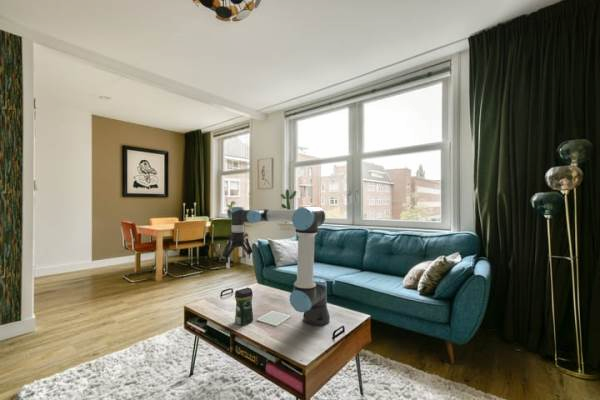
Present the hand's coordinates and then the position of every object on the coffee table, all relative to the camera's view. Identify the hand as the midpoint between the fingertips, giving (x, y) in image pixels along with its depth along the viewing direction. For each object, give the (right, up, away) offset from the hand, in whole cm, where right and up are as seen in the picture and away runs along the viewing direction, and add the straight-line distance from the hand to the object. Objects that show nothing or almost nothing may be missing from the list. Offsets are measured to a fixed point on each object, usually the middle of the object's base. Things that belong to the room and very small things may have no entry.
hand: (237, 266), depth 168 cm
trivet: (+23, -27, -12) cm, 38 cm away
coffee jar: (+7, -28, -15) cm, 32 cm away
